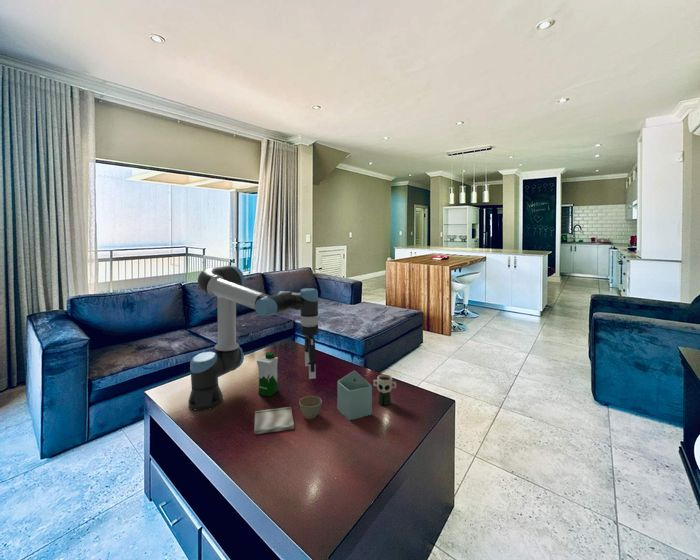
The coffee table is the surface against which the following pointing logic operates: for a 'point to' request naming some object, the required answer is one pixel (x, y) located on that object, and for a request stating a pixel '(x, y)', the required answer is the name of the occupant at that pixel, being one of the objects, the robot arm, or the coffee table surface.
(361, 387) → the planter
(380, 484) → the coffee table surface
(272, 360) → the milk carton
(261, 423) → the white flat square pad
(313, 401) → the flower pot
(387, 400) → the character mug
